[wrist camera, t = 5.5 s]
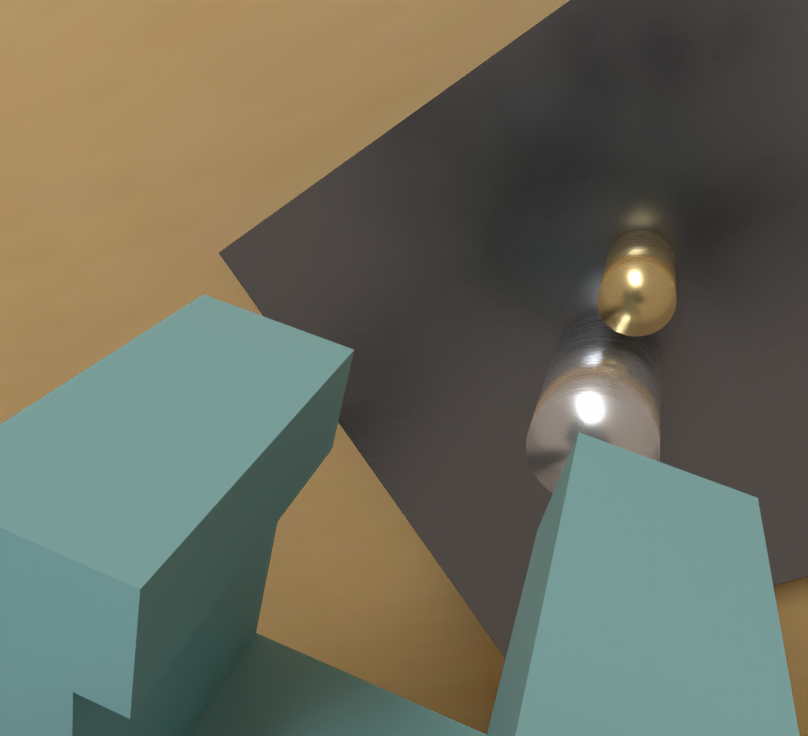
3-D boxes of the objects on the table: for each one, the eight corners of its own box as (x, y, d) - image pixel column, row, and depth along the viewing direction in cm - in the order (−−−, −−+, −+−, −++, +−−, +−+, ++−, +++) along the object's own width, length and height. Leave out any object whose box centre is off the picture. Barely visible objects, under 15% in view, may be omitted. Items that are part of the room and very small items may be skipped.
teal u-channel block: (555, 836, 11) (503, 1222, 7) (164, 657, 12) (-40, 924, 8) (757, 498, 8) (827, 892, 4) (204, 294, 9) (-95, 485, 5)
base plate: (512, 634, 23) (476, 780, 19) (238, 242, 20) (121, 307, 16) (1062, 474, 16) (1203, 642, 12) (772, -140, 14) (821, -206, 9)
